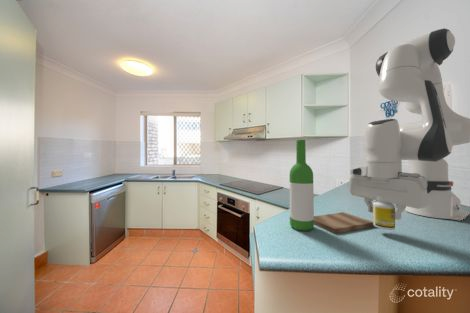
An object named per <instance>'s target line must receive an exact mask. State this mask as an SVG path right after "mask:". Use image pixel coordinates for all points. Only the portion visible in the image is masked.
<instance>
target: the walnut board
mask: <svg viewBox="0 0 470 313" xmlns="http://www.w3.org/2000/svg"><path fill="white" fill-rule="evenodd" d="M314 226H317V227H318V228H322V229H324V230H326V231H327V232H329V233H332V234H334V235H335V234H336V235H337V234H343V233H347V232H352V231H357V230H363V229H369V228H372V227H373V228H374V227H375V226H374V225H373V220H369V219H366V218H362V217H359V216H356V215H353V214H350V213H348V212H345V211H343V212H342V211H340V212H334V213H328V214H322V215H320V214H319V215H314Z"/></svg>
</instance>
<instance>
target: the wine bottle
mask: <svg viewBox="0 0 470 313" xmlns="http://www.w3.org/2000/svg"><path fill="white" fill-rule="evenodd" d="M295 143H296V148H295V149H296V151H295V152H296V157H295V158H296V163H295V164H294V165H292V167H291V168H290V170H289V225H290V227H291V228H293V229H295V230H298V231H303V232H304V231H306V232H308V231H311V230H313V228H314V226H315V224H314V216H315V215H314V214H315V212H314V211H315V210H314V207H315V206H314V205H315V204H314V203H315V202H314V199H315V198H314V195H315V194H314V172H313V169H312V168H311V166H310V165H309V164H308V163H307V162H306V161H307V159H306V158H307V157H306V151H307V150H306V140H305V139H296V142H295Z"/></svg>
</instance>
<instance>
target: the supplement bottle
mask: <svg viewBox="0 0 470 313" xmlns="http://www.w3.org/2000/svg"><path fill="white" fill-rule="evenodd" d="M372 204H373V213H372V222H373V225H374V227H375V228H378V229H381V230H386V231H392V230H395V229H396V219H394V218H392V212H396V205H395V204H393V203H388V202H384V201H383V200H382V197H380V196H377V200H374V201H372Z"/></svg>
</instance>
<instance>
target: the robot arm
mask: <svg viewBox="0 0 470 313" xmlns="http://www.w3.org/2000/svg"><path fill="white" fill-rule="evenodd" d="M455 38H456V37H455V35H454V34H453V33H452V31H451V30H450V29H448V28H440V29H437V30H433V31H430V32H429V33H427V34H425V35H421V36H418V37H416V38H414V39H411V40H409V41H406V42H405V43H404V44H400V45H398V46H397V45H396V46H394V47H393V48H391V49H390V50H389V51H387V52H385V53H383V54H382V55H381V56H379V57H378V59H377V60H376V62H375V71H376V74H377V75H378V92H379V94H380V95H381V96H382V97H383V98H385V99H387V100H388V101H393V102H399V103H401V102H402V103H405V108H406V110H407V111H408V112H410V113H413V114H417V115H421V116H422V120H423V121H418V122H413V123H406V124H402V125H400V124H399V122H398V121H399V120H397V119H395V118H388V119H387V118H386V119H381V120H380V119H379V120H374V121H371V122H369V123H368V124H367V125H366V128H365V133H364V134H365V135H364V136H365V137H364V150H365V153H366V157H365V159H364V162H365V163H364V164H365V165H361V166H357V167H353V168H351V169H350V171H349V172H350V175H351V176H350V178H349V192H350V194H351V196H355V197H361V198H363V200H364V202H365V205H366V206H367V212H369V213H372V214H373V202H374V201H376V200H377V196H380V197H382V200H383V201H384V202H388V203H392V204H394V205H395V209H396V210H395V212H392V218H394V219H395V220H399V221H400V220H401V219H402V213H403V212H404V211H406V212H408V213H410V214H414V215H418V216H422V217H428V218H435V219H442V220H443V219H445V220H454V221H461V220H462V221H464V220H465V219H467V218H468V217H469V216H470V215H469V214H470V211H467V210H462V204H461V203H462V202H461V199H460V198H459V197H457V195H456V194H454V192H453V191H452V187H453V186H454V181H451V180H450V181H449V164H448V162H447V160H446V159H445V158H446V157H448V156H449V155H450V154H451V153H452V150H453V147H454V146H460V145H464V144H470V118H469V117H466V116H463V115H461V114H458V113H457V112H456V111H454V110H452V109H451V107H450V106H449V104H448V103H447V101H446V97H445V94H444V92H445V91H444V87H443V77H442V73H441V71H440V68H439V66H441V65H442V64H443V63H444V61H445V60H446V59H448V58H449V57H450V56H451V54H452V53H453V51H454V47H455V45H456V39H455ZM402 161H408V166H409V172H403V169H402V168H403V167H402V166H403V165H402V163H403V162H402ZM373 200H374V201H373ZM468 215H469V216H468ZM467 216H468V217H467ZM466 217H467V218H466ZM463 219H464V220H463Z"/></svg>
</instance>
